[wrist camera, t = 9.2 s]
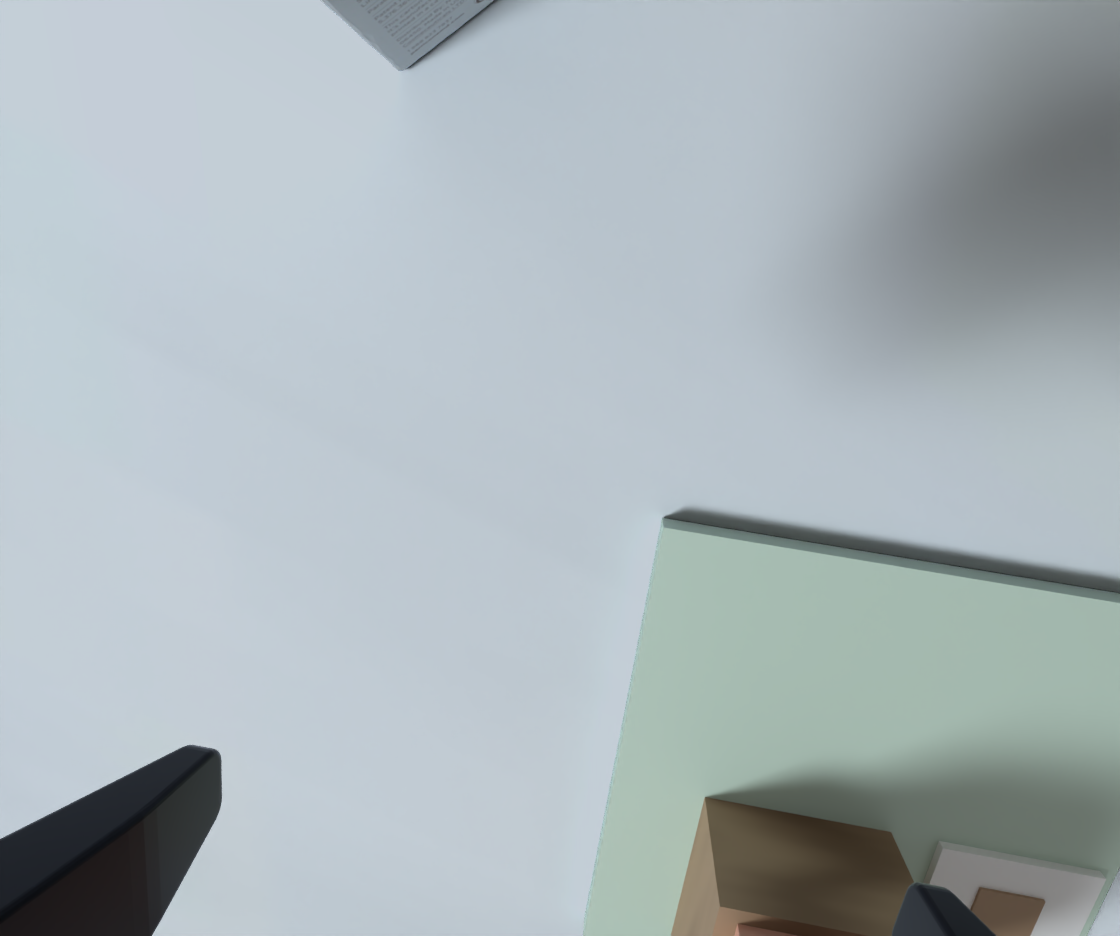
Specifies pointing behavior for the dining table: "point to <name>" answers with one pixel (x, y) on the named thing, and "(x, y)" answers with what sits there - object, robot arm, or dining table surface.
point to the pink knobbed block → (757, 931)
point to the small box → (405, 24)
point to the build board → (869, 724)
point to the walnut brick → (789, 875)
